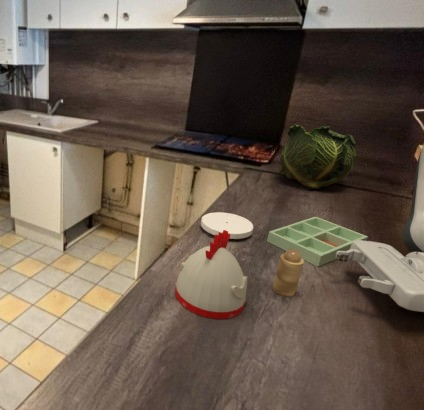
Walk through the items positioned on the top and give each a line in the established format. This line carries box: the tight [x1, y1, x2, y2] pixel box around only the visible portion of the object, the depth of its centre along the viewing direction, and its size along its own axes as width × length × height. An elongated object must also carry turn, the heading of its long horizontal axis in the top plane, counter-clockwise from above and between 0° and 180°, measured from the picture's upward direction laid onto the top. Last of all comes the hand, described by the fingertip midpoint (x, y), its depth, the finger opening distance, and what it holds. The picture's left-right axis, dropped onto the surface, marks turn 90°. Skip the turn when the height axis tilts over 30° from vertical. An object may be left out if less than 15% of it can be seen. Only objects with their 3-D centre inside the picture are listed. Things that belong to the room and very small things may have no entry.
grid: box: [266, 216, 369, 268], centre depth 95 cm, size 14×21×3 cm
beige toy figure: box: [272, 249, 305, 297], centre depth 76 cm, size 4×4×10 cm
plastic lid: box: [200, 211, 254, 240], centre depth 103 cm, size 14×14×2 cm
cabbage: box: [278, 124, 358, 191], centre depth 135 cm, size 25×24×23 cm
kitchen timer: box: [174, 230, 248, 320], centre depth 73 cm, size 14×14×15 cm
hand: (348, 267), depth 74 cm, fingers open, 8 cm apart
